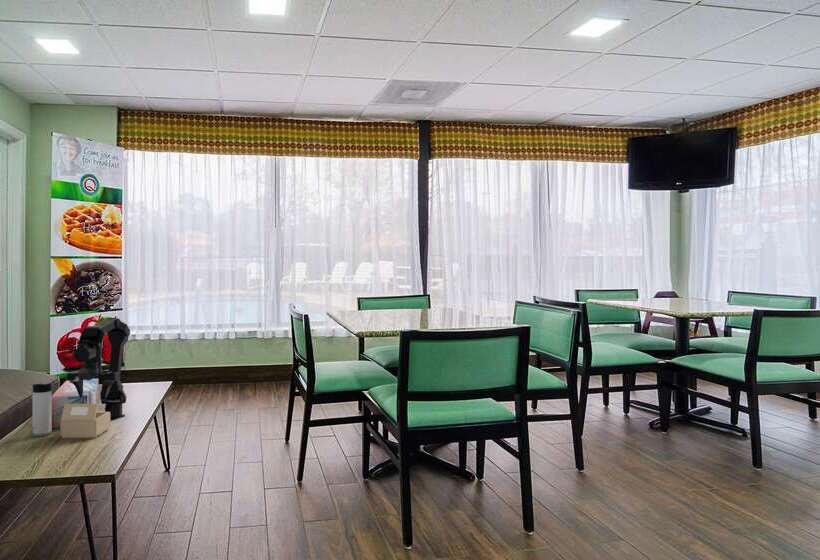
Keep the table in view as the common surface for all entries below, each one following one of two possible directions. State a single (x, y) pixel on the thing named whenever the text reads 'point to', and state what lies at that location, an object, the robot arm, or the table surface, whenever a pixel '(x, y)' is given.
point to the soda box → (73, 398)
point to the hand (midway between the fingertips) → (93, 397)
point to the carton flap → (79, 412)
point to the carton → (85, 426)
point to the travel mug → (42, 410)
